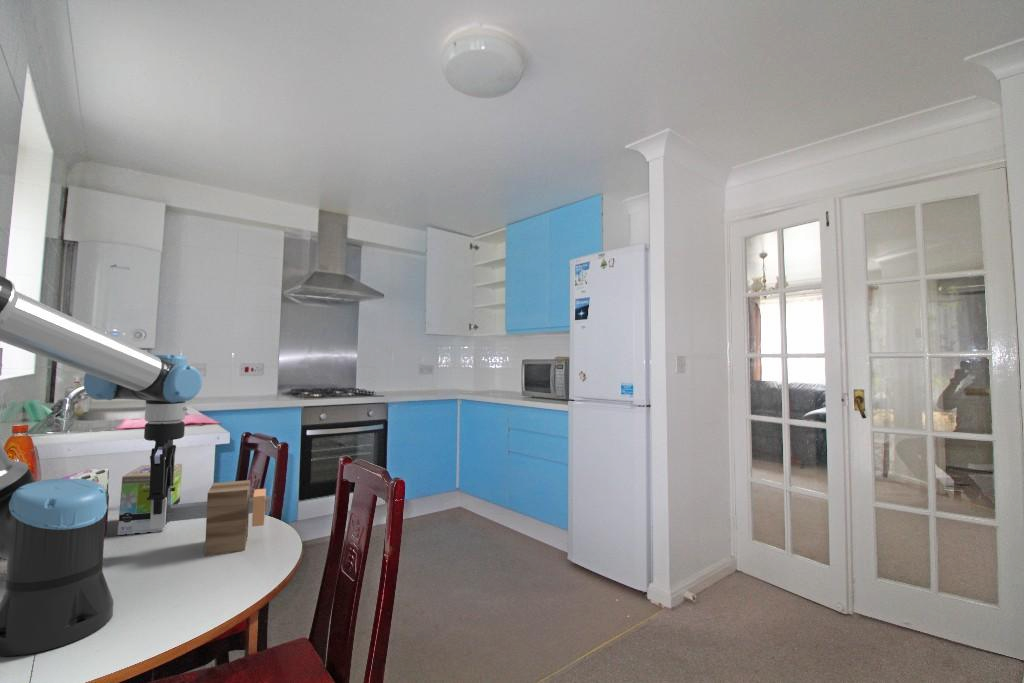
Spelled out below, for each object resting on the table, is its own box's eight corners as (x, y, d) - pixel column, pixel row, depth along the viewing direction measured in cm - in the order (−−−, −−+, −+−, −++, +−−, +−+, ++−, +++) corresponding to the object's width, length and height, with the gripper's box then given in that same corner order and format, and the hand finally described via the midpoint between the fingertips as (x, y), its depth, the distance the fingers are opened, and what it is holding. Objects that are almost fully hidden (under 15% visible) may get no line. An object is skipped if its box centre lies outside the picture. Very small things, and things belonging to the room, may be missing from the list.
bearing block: (244, 550, 113) (247, 489, 114) (204, 555, 110) (207, 493, 110) (247, 536, 122) (250, 480, 123) (210, 540, 119) (213, 482, 119)
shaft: (270, 513, 118) (271, 480, 118) (150, 526, 108) (151, 490, 108) (270, 509, 122) (271, 477, 122) (154, 520, 112) (156, 485, 112)
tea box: (164, 532, 124) (167, 473, 125) (116, 536, 120) (119, 476, 121) (180, 514, 138) (182, 462, 139) (137, 517, 134) (140, 464, 135)
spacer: (263, 525, 116) (265, 495, 116) (252, 526, 115) (253, 496, 115) (264, 516, 123) (266, 488, 123) (253, 517, 121) (254, 489, 122)
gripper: (177, 425, 105) (172, 534, 104) (191, 416, 121) (186, 511, 120) (134, 427, 102) (128, 539, 101) (154, 417, 117) (149, 515, 117)
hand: (160, 524), depth 110 cm, fingers closed on shaft, 4 cm apart
